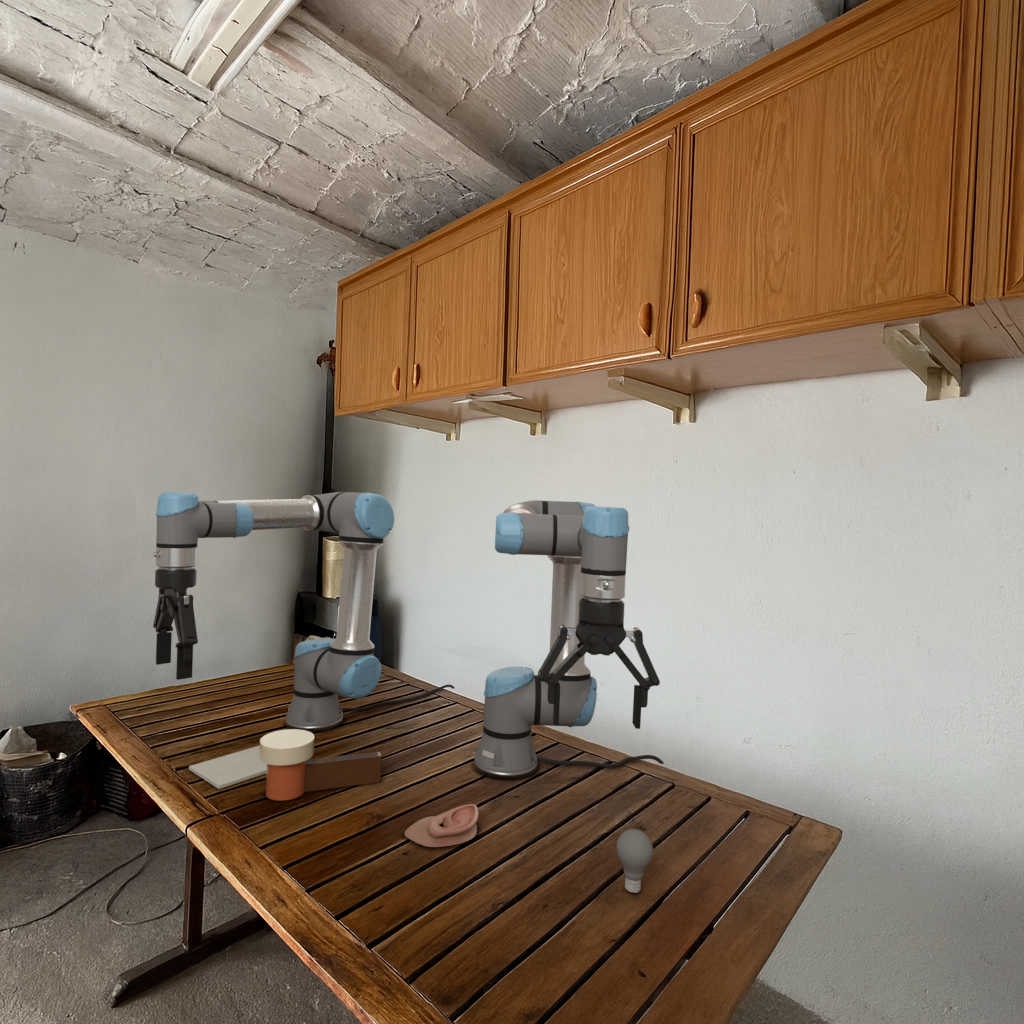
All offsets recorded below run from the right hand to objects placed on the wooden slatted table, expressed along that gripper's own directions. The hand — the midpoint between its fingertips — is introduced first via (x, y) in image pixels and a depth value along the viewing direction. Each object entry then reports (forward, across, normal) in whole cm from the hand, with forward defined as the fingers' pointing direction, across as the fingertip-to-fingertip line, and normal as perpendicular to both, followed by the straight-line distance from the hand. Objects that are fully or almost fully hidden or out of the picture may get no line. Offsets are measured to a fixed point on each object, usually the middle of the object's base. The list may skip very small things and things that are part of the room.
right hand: (595, 724), depth 106 cm
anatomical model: (+27, -26, +15) cm, 41 cm away
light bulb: (+27, +7, -2) cm, 28 cm away
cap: (+20, -61, +29) cm, 70 cm away
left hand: (+1, -84, +25) cm, 87 cm away
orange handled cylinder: (+28, -54, +32) cm, 68 cm away
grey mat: (+28, -74, +41) cm, 89 cm away
